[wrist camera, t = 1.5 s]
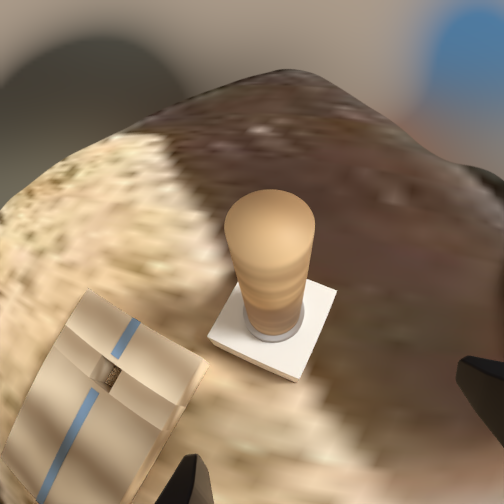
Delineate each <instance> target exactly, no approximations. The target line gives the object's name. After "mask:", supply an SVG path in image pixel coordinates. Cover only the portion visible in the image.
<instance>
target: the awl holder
mask: <svg viewBox="0 0 504 504" xmlns="http://www.w3.org/2000/svg"><path fill="white" fill-rule="evenodd" d="M336 292H337V291H336V290H334V289H331V288H328V287H326V286H323V285H321V284H318V283H316V282H313V281H311V280H308V279H306V285H305V290H304V296H303V303H304V310H305V312H304V319H303V323H302V325H301V327H300V329H299V330H298V332H297V333H296V334H295V335H294V336H293V337H291V338H290V339H288V340H286V341H283V342H279V343H268V342H264V341H261V340H259V339H257V338H256V337H255V336H253V335H252V334H251V333H250V331H249V330H248V328H247V326H246V324H245V321H244V317H243V306H244V301H243V297H242V294H241V290H240V286H239V283H238V282H237V284H236V286H235V288H234V289H233V291H232V293H231V295H230V297H229V298H228V300H227V302H226V304H225V305H224V307H223V309H222V311H221V312H220V314H219V316H218V318H217V320H216V321H215V323H214V325H213V327H212V328H211V330H210V332H209V334H208V335H207V337H208V338H209V340H210V341H211V342H212V343H213V345H215V346H217V347H219V348H221V349H223V350H225V351H227V352H229V353H231V354H233V355H235V356H237V357H239V358H242V359H244V360H246V361H248V362H250V363H252V364H254V365H257V366H259V367H261V368H263V369H265V370H268V371H270V372H272V373H274V374H277V375H279V376H281V377H283V378H286V379H288V380H290V381H293V382H295V383H297V382H298V380H299V378H300V376H301V374H302V372H303V370H304V368H305V365H306V363H307V361H308V359H309V357H310V354H311V352H312V350H313V348H314V345H315V343H316V341H317V339H318V336H319V334H320V332H321V329H322V327H323V324H324V322H325V320H326V317H327V315H328V312H329V310H330V307H331V305H332V303H333V300H334V297H335V295H336Z"/></svg>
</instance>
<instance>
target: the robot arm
mask: <svg viewBox="0 0 504 504" xmlns="http://www.w3.org/2000/svg"><path fill="white" fill-rule="evenodd" d="M456 382H457V384H458V386H459V387H460V389H461V390H462V392H463V393H464V395H465V396H466V398H467V400H468V401H469V403H470V404H471V406H472V407H473V409H474V410H475V412H476V413H477V414H478V416H479V417H480V418H481V419H482V421H483V422H484V423H485V424H486V426H487V427H488V428H489V429H490V431H491V432H492V433H493V435H494V436H495V437H496V438H497V440H498V441H499V442H500V444H501V445H502V446H503V447H504V362H499V361H494V360H489V359H484V358H479V357H474V356H465V357H464V358H462V359H461V360H459V362H458V366H457V372H456ZM155 504H214V501H213V496H212V490H211V484H210V478H209V472H208V469H207V467H206V465H205V464H204V462H203V461H202V459H201V457H200V456H199V455H198V454H190V455H185V456H184V457H183V459H182V461H181V462H180V464H179V465H178V467H177V469H176V470H175V472H174V474H173V475H172V477H171V478H170V480H169V482H168V483H167V485H166V486H165V488H164V490H163V491H162V493H161V494H160V496H159V497H158V499H157V501H156V502H155Z"/></svg>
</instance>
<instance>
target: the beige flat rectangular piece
mask: <svg viewBox="0 0 504 504" xmlns="http://www.w3.org/2000/svg"><path fill="white" fill-rule="evenodd" d="M115 365H116V366H118V367H119V368H121V369H122V371H121V373H120V374H119V376H118V378H117V380H116V381H115V383H114V385H113V387H112V388H111V387H110V386H108V385H107V384H106V383H105V381H106V380H107V378H108V376H109V374H110V373H111V371H112V369H113V367H114V366H115ZM209 366H210V364H209V363H208V362H207V361H206V360H205V359H204V358H202V357H200V356H198V355H197V354H195V353H193V352H191V351H189V350H187V349H186V348H184V347H182V346H180V345H178V344H177V343H175V342H173V341H171V340H170V339H168V338H166V337H164V336H163V335H161V334H159V333H158V332H156V331H154V330H152V329H151V328H149V327H147V326H146V325H144V324H143V323H141V322H139V321H138V320H136V319H135V318H133V317H131V316H130V315H128V314H127V313H125V312H123V311H122V310H120V309H119V308H117V307H116V306H114V305H113V304H111V303H110V302H108V301H107V300H105V299H104V298H102V297H101V296H99V295H98V294H96V293H95V292H93V291H92V290H91V289H89V288H88V289H87V290H86V292H85V294H84V295H83V297H82V298H81V300H80V301H79V303H78V305H77V306H76V308H75V309H74V311H73V313H72V314H71V316H70V317H69V319H68V321H67V322H66V324H65V326H64V327H63V329H62V331H61V332H60V334H59V336H58V338H57V339H56V341H55V343H54V345H53V346H52V348H51V350H50V352H49V354H48V355H47V357H46V359H45V361H44V363H43V365H42V367H41V368H40V370H39V372H38V374H37V376H36V378H35V380H34V382H33V384H32V386H31V388H30V390H29V392H28V394H27V396H26V398H25V400H24V402H23V405H22V407H21V409H20V411H19V413H18V416H17V418H16V420H15V422H14V425H13V427H12V429H11V432H10V434H9V437H8V439H7V442H6V444H5V447H4V449H3V452H2V455H1V458H2V460H3V461H4V462H5V464H6V465H7V466H8V467H9V469H10V470H11V471H12V472H13V474H14V475H15V476H16V477H17V478H18V480H19V481H20V482H21V483H22V484H23V486H24V487H25V488H26V489H27V490H28V491H29V492H30V493H31V494H32V496H33V497H34V498H35V499H36V501H37V502H38V503H39V504H130V503H131V501H132V500H133V498H134V496H135V495H136V493H137V491H138V490H139V488H140V486H141V485H142V483H143V481H144V479H145V478H146V476H147V474H148V473H149V471H150V469H151V467H152V466H153V464H154V462H155V461H156V459H157V457H158V455H159V454H160V452H161V450H162V449H163V447H164V445H165V443H166V442H167V440H168V438H169V436H170V435H171V433H172V431H173V429H174V428H175V426H176V424H177V422H178V421H179V419H180V417H181V415H182V414H183V412H184V410H185V408H186V407H187V405H188V403H189V401H190V399H191V398H192V396H193V394H194V392H195V391H196V389H197V387H198V385H199V383H200V382H201V380H202V378H203V376H204V375H205V373H206V371H207V369H208V367H209Z"/></svg>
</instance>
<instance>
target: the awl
mask: <svg viewBox="0 0 504 504" xmlns="http://www.w3.org/2000/svg"><path fill="white" fill-rule="evenodd" d="M224 228H225V235H226V238H227V242H228V246H229V250H230V253H231V257H232V261H233V265H234V268H235V272H236V276H237V279H238V283H239V286H240V290H241V294H242V297H243V301H244V306H243V317H244V321H245V324H246V326H247V328H248V330H249V331H250V333H251V334H252V335H253V336H255V337H256V338H257V339H259V340H261V341H264V342H268V343H279V342H283V341H286V340H288V339H290V338H291V337H293V336H294V335H295V334H296V333H297V332H298V330H299V329H300V327H301V325H302V323H303V319H304V312H305V310H304V303H303V296H304V290H305V285H306V279H307V273H308V268H309V262H310V256H311V250H312V244H313V237H314V231H315V220H314V216H313V214H312V212H311V210H310V208H309V207H308V205H307V204H306V203H305V202H304V201H303V200H301V199H300V198H299V197H297V196H295V195H293V194H291V193H288V192H285V191H281V190H272V189H271V190H260V191H256V192H253V193H250V194H248V195H246V196H244V197H242V198H241V199H239V200H238V201H237V202H236V203H235V204H234V205H233V206H232V207H231V209H230V210H229V212H228V214H227V216H226V219H225V226H224Z"/></svg>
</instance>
